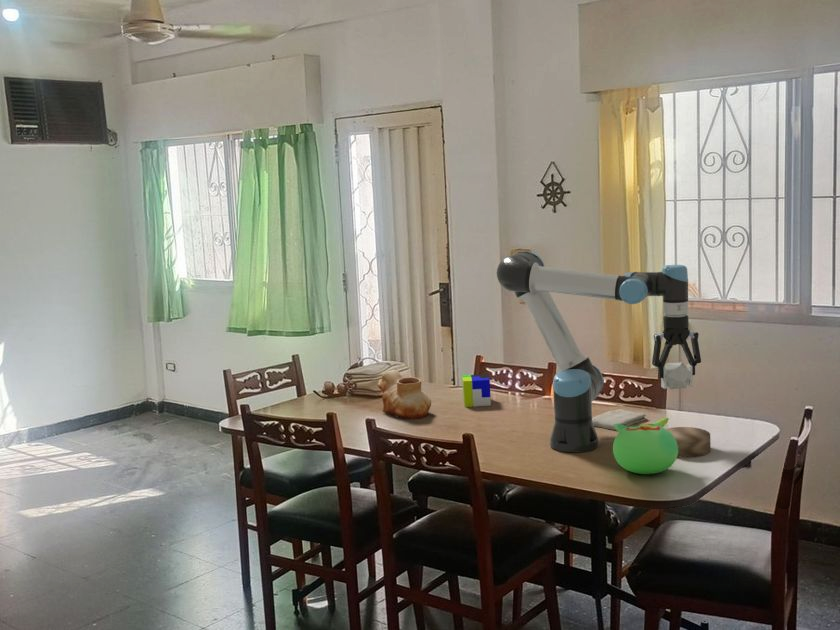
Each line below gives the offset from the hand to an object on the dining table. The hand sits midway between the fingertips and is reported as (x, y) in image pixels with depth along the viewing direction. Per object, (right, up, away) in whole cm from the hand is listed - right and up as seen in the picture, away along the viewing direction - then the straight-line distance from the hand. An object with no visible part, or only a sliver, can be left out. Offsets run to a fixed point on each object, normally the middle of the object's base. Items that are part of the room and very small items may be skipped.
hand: (676, 386), depth 286 cm
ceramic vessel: (-86, -14, +57) cm, 105 cm away
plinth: (0, -19, -8) cm, 20 cm away
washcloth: (-13, -15, +26) cm, 32 cm away
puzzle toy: (-59, -12, +64) cm, 87 cm away
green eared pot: (-16, -23, -26) cm, 38 cm away
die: (0, -1, 0) cm, 1 cm away
